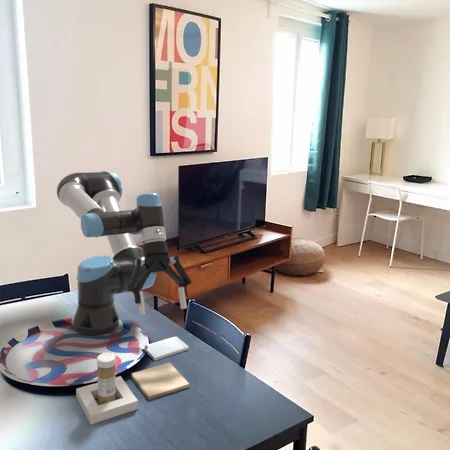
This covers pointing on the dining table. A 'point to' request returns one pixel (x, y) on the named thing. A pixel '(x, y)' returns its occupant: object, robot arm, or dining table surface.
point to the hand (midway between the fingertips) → (163, 311)
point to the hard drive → (166, 348)
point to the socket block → (109, 409)
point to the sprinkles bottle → (106, 378)
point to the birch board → (159, 380)
